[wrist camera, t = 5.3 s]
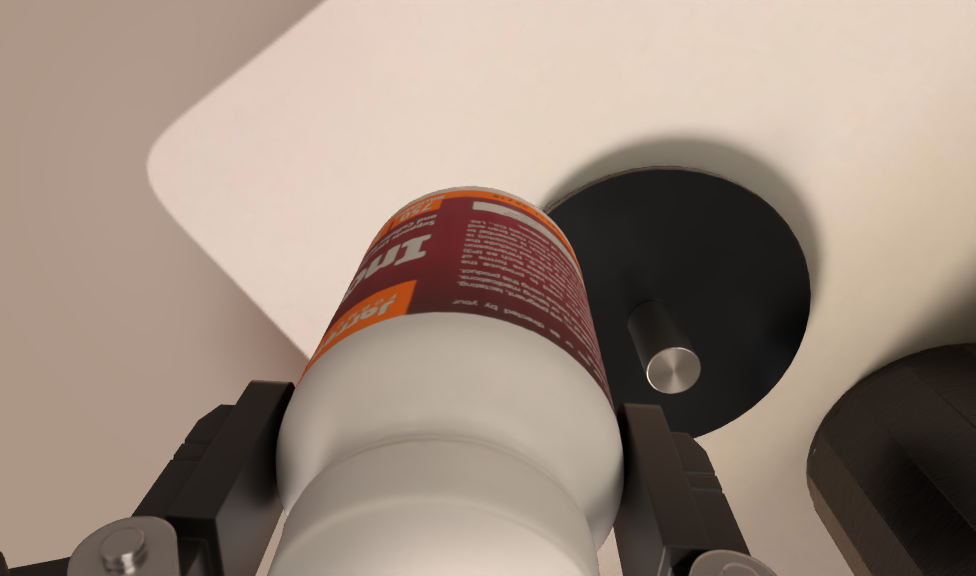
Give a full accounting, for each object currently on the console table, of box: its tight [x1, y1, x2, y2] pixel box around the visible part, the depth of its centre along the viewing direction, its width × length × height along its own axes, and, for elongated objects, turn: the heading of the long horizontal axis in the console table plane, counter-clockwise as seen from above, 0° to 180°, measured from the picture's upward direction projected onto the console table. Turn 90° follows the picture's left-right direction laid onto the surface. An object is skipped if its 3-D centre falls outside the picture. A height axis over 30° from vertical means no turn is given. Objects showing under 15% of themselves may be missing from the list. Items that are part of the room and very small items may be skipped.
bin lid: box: [545, 166, 811, 438], centre depth 32 cm, size 16×16×6 cm
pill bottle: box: [267, 186, 624, 576], centre depth 14 cm, size 6×6×11 cm
